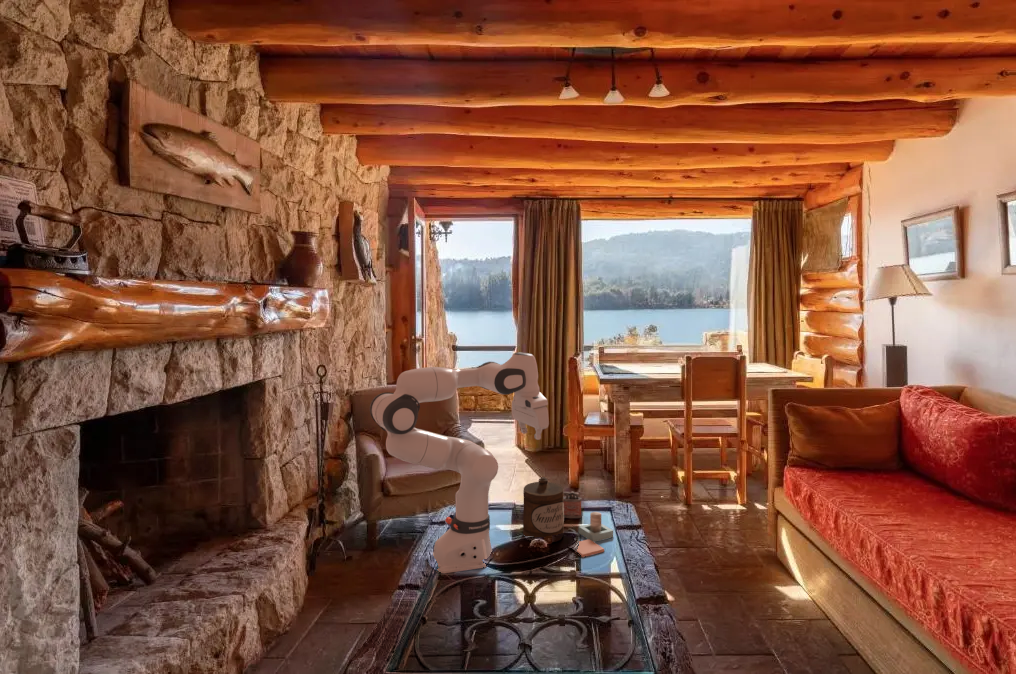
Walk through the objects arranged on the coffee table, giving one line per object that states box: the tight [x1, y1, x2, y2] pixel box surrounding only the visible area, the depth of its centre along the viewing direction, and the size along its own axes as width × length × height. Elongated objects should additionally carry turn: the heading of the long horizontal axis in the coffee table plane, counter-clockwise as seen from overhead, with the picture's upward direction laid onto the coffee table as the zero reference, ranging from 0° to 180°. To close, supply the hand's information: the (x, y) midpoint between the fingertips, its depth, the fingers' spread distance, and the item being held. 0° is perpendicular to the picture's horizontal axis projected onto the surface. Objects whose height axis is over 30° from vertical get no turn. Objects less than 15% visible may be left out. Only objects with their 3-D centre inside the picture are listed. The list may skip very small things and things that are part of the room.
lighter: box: [563, 491, 583, 519], centre depth 241 cm, size 8×3×10 cm, turn 84°
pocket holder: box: [578, 523, 614, 543], centre depth 223 cm, size 9×9×2 cm
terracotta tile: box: [577, 538, 605, 558], centre depth 212 cm, size 9×9×1 cm
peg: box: [589, 511, 602, 533], centre depth 223 cm, size 4×4×8 cm
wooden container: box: [522, 476, 565, 537], centre depth 222 cm, size 15×15×22 cm
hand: (531, 436), depth 214 cm, fingers open, 8 cm apart
